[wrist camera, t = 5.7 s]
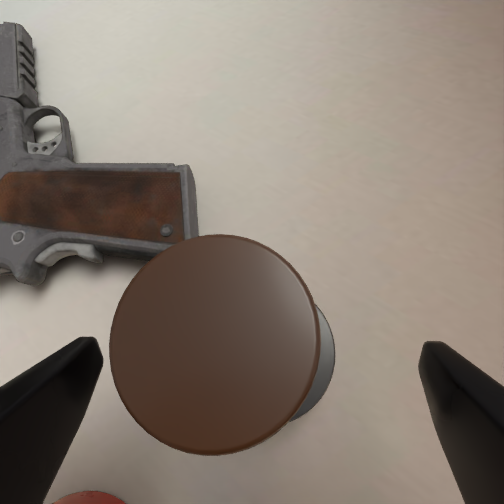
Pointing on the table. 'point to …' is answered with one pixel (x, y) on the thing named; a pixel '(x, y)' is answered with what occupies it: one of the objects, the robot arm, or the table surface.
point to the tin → (89, 498)
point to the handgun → (75, 187)
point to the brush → (219, 345)
